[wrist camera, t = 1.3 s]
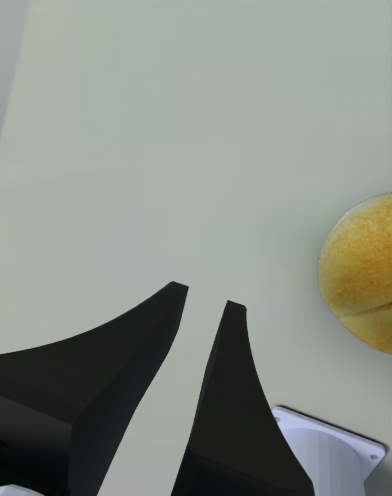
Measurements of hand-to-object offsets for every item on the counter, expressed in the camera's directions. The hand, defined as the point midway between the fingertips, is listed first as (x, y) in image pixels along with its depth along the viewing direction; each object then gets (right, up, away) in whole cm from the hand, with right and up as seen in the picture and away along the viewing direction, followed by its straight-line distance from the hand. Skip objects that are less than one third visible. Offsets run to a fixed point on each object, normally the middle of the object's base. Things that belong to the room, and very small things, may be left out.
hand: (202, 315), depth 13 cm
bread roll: (+11, +2, +7) cm, 13 cm away
